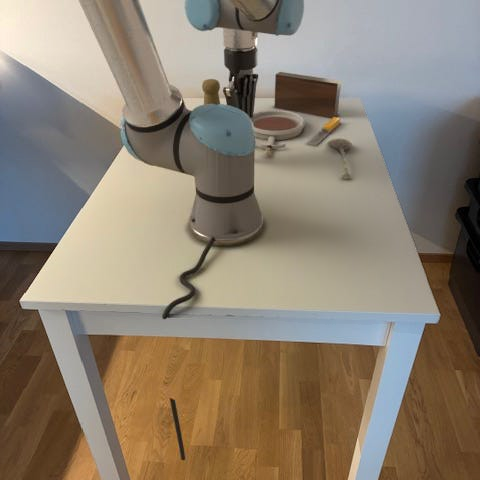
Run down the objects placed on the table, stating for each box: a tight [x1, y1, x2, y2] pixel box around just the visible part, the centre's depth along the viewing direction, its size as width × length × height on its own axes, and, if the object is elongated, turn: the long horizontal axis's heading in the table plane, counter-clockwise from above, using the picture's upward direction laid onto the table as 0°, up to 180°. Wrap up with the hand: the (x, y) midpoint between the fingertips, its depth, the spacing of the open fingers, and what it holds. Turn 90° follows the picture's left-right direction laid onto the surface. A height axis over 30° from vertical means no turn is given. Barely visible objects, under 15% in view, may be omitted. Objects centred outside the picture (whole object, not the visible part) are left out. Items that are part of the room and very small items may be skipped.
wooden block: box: [274, 71, 342, 119], centre depth 148 cm, size 3×20×10 cm, turn 60°
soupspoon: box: [327, 137, 353, 180], centre depth 124 cm, size 22×3×7 cm
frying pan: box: [251, 109, 306, 158], centre depth 136 cm, size 17×3×28 cm
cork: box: [201, 78, 221, 105], centre depth 144 cm, size 6×6×11 cm
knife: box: [308, 116, 341, 147], centre depth 137 cm, size 18×2×2 cm, turn 151°
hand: (242, 150), depth 123 cm, fingers closed
